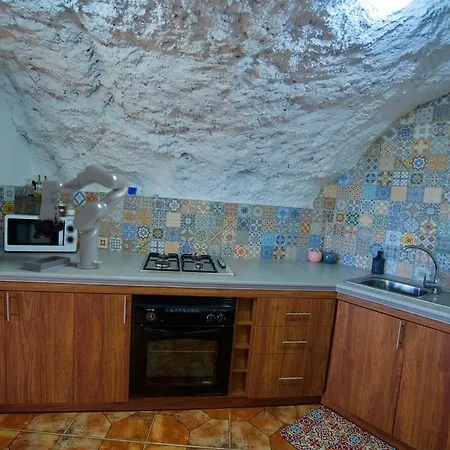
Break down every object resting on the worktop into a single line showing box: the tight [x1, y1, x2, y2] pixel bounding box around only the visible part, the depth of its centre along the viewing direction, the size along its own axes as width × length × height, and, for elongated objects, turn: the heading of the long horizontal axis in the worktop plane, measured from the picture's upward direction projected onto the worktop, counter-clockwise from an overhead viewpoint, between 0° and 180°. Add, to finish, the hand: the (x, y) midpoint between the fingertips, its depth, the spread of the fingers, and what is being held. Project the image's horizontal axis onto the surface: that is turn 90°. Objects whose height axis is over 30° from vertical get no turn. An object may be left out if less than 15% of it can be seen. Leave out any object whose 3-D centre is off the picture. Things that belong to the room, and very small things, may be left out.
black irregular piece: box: [32, 219, 65, 240], centre depth 189 cm, size 7×18×10 cm, turn 161°
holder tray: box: [23, 255, 71, 273], centre depth 181 cm, size 11×22×4 cm, turn 166°
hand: (49, 230), depth 190 cm, fingers closed on black irregular piece, 7 cm apart
